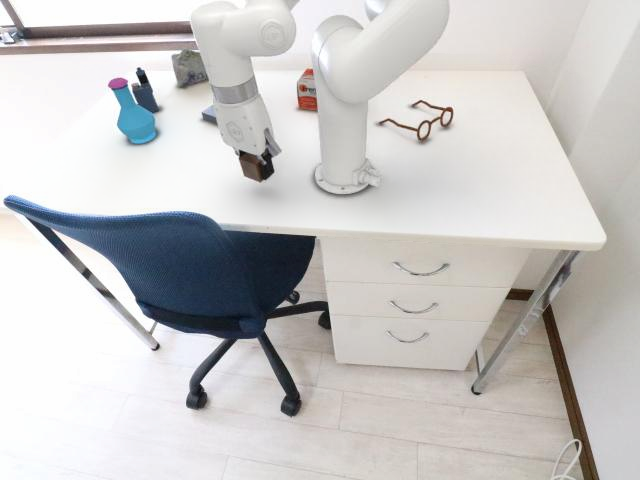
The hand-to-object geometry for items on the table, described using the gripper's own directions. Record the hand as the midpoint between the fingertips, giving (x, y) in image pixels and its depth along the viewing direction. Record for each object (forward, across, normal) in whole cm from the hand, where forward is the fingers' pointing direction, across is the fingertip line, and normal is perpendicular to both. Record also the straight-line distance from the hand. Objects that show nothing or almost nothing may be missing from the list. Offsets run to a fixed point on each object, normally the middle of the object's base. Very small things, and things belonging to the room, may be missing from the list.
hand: (258, 171), depth 77 cm
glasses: (+8, +17, +40) cm, 44 cm away
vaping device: (+5, -52, +11) cm, 53 cm away
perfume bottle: (+4, -43, +1) cm, 43 cm away
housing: (+5, -28, +20) cm, 35 cm away
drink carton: (+7, -8, +38) cm, 39 cm away
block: (0, 0, 0) cm, 0 cm away
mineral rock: (+5, -53, +31) cm, 62 cm away
